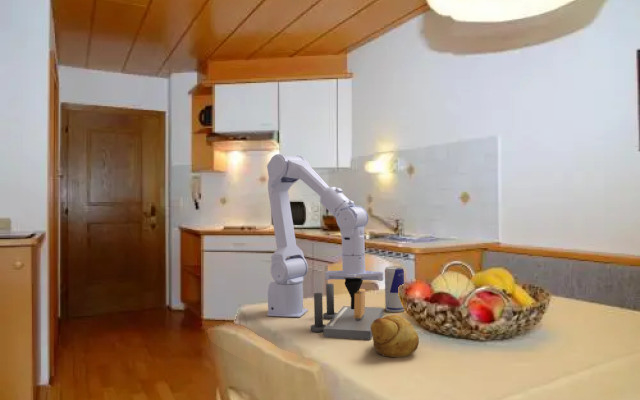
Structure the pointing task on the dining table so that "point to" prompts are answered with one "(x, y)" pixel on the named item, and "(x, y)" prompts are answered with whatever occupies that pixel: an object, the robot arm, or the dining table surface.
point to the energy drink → (393, 288)
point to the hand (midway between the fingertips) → (354, 308)
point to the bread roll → (394, 336)
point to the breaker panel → (352, 323)
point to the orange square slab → (359, 304)
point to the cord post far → (329, 302)
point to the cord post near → (318, 314)
